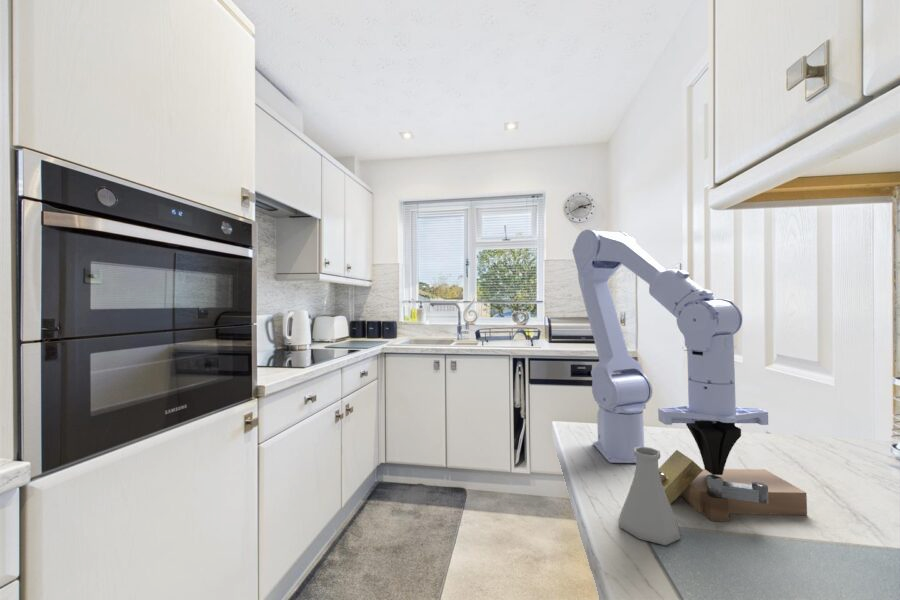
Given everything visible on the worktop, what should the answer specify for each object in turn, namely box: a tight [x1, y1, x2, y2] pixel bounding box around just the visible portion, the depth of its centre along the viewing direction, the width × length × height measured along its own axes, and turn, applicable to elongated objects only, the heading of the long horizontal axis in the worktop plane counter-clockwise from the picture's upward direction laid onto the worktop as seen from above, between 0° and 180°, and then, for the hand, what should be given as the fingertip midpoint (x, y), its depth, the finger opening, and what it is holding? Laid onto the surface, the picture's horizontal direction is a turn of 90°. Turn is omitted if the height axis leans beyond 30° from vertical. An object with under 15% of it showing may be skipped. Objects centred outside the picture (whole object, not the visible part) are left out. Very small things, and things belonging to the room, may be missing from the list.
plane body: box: [679, 468, 808, 522], centre depth 53 cm, size 9×14×3 cm, turn 86°
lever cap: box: [658, 449, 703, 505], centre depth 55 cm, size 4×7×3 cm
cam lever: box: [706, 475, 769, 504], centre depth 49 cm, size 7×2×2 cm, turn 70°
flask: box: [618, 446, 682, 546], centre depth 48 cm, size 7×7×10 cm
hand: (713, 471), depth 54 cm, fingers closed
